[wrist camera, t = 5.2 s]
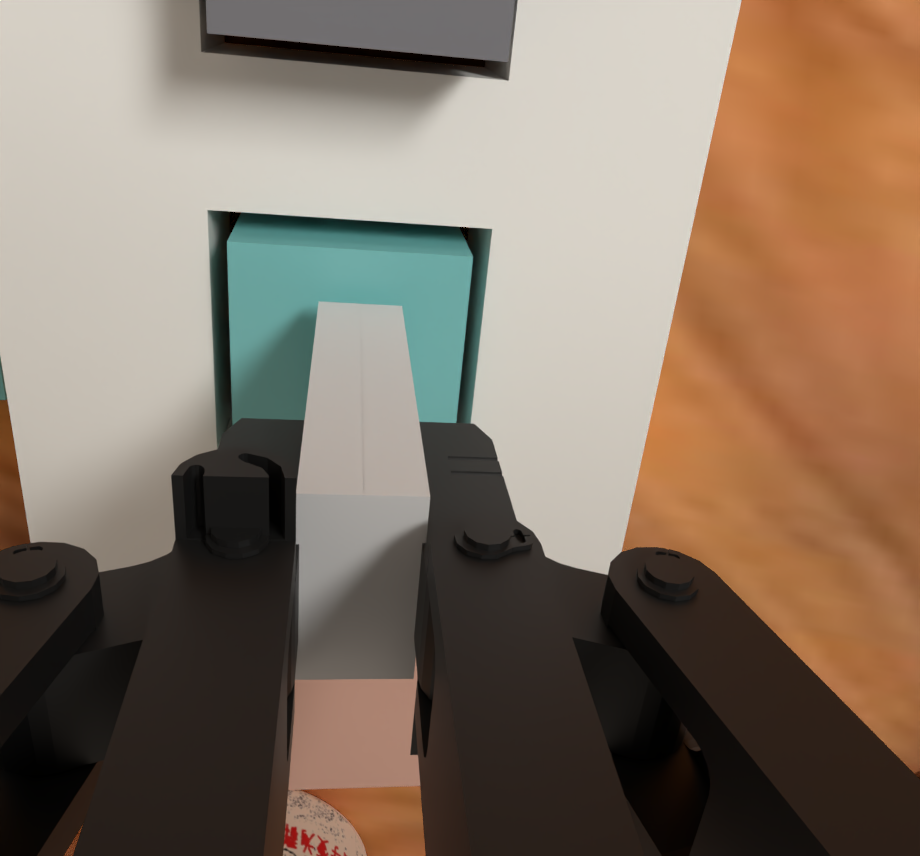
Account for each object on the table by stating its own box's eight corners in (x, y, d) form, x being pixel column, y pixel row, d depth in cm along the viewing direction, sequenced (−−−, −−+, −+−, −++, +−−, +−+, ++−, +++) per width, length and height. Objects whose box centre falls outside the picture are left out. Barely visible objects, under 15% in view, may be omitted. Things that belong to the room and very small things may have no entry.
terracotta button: (431, 550, 21) (444, 639, 18) (418, 686, 23) (428, 785, 20) (246, 548, 20) (229, 640, 17) (250, 688, 22) (234, 791, 19)
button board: (731, -272, 15) (812, -327, 13) (554, 670, 25) (578, 749, 23) (-41, -396, 13) (-137, -491, 11) (98, 676, 23) (66, 763, 21)
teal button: (454, 216, 18) (473, 257, 16) (437, 399, 20) (451, 464, 17) (246, 201, 18) (226, 241, 15) (250, 392, 20) (233, 459, 17)
